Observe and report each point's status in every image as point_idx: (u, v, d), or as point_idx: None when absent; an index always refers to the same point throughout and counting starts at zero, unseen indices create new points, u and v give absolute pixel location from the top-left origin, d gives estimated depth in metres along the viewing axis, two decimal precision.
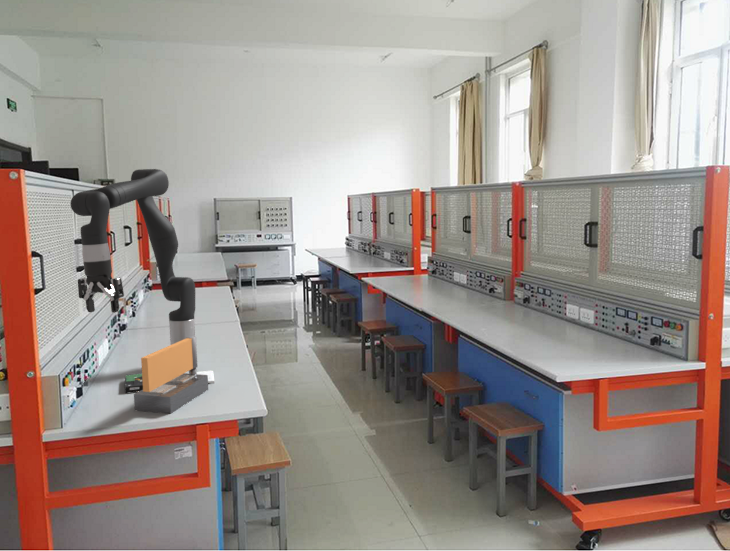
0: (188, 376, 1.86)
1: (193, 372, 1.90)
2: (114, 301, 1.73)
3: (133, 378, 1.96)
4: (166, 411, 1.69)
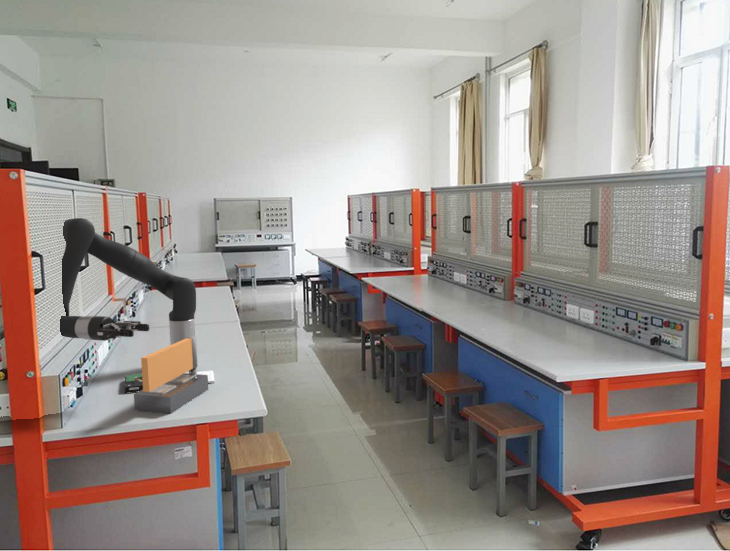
0: (188, 376, 1.86)
1: (193, 372, 1.90)
2: None
3: (133, 378, 1.96)
4: (166, 411, 1.69)
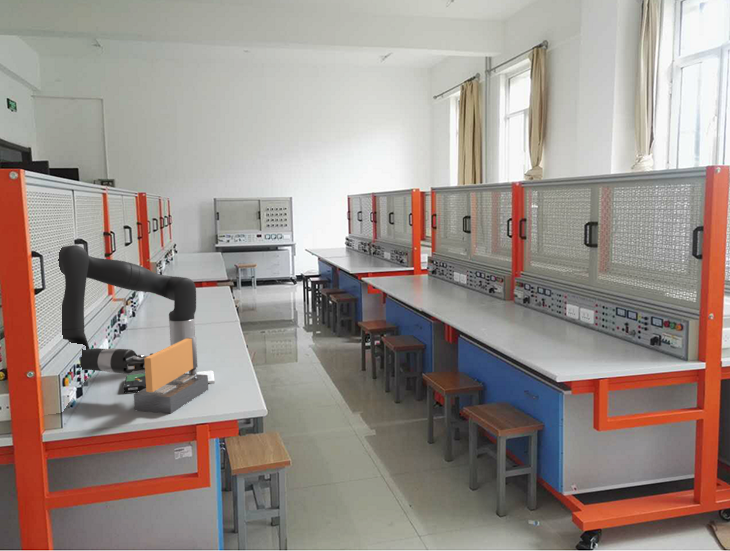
0: (188, 376, 1.86)
1: (193, 372, 1.90)
2: None
3: (133, 378, 1.96)
4: (166, 411, 1.69)
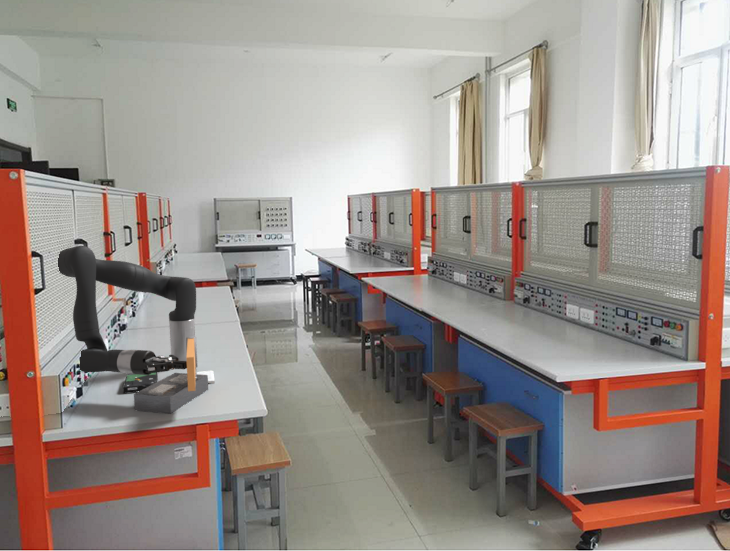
0: None
1: None
2: None
3: (133, 378, 1.96)
4: (166, 411, 1.69)
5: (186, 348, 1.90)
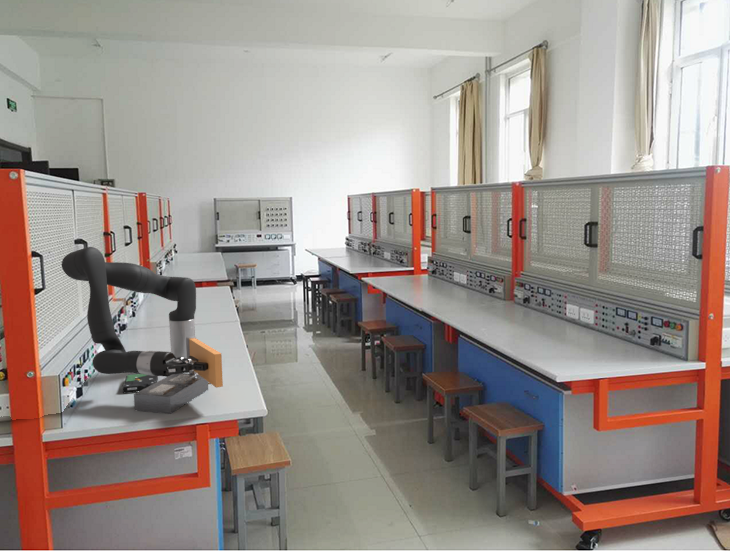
0: (188, 376, 1.86)
1: (193, 372, 1.90)
2: None
3: (133, 378, 1.97)
4: (166, 411, 1.69)
5: (187, 348, 1.89)
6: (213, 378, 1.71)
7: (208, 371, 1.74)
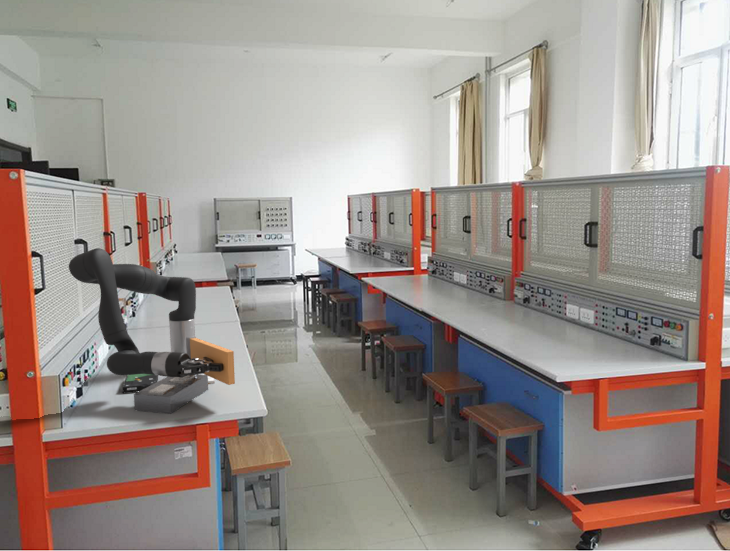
0: (188, 376, 1.86)
1: None
2: None
3: (133, 378, 1.97)
4: (166, 411, 1.69)
5: (187, 348, 1.89)
6: (224, 376, 1.73)
7: None
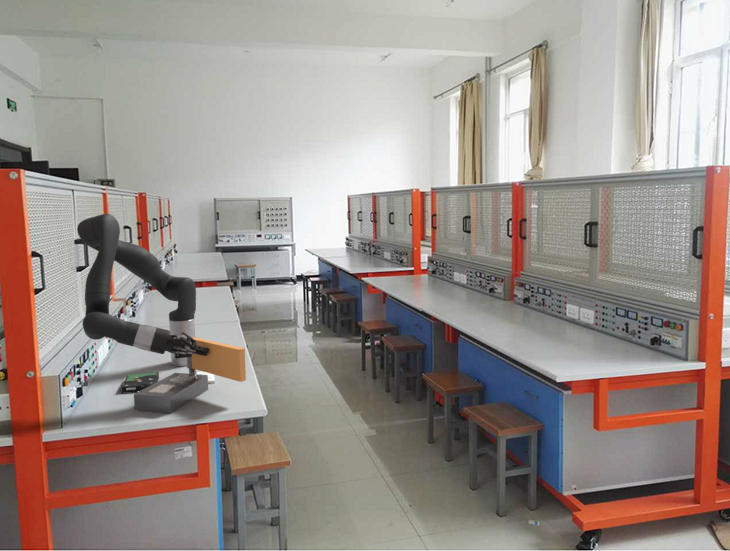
0: (188, 376, 1.86)
1: (193, 372, 1.90)
2: (197, 350, 1.80)
3: (134, 377, 1.97)
4: (166, 411, 1.69)
5: None
6: (235, 373, 1.76)
7: (227, 367, 1.78)
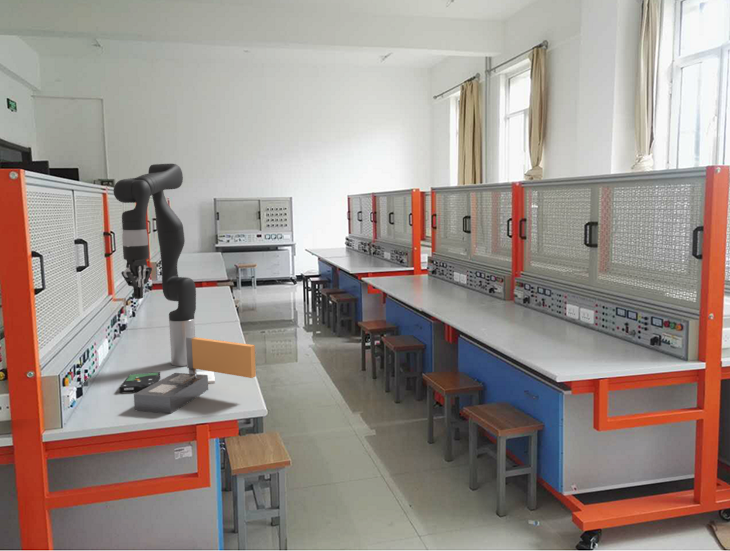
0: (188, 376, 1.86)
1: (193, 372, 1.90)
2: None
3: (134, 377, 1.97)
4: (166, 411, 1.69)
5: (188, 349, 1.89)
6: (245, 370, 1.79)
7: (236, 364, 1.81)
